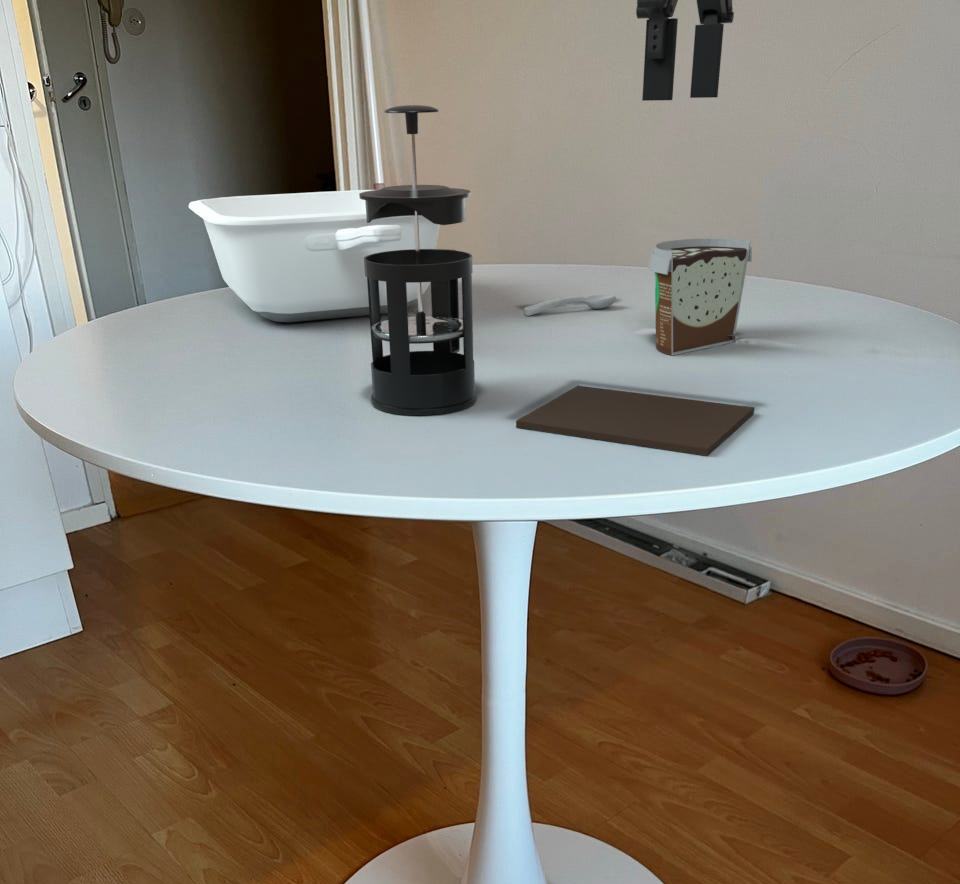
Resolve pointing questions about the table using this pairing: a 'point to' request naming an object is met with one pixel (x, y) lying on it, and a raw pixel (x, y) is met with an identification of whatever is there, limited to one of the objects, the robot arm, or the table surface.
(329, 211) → the white dish tub
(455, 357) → the french press
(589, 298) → the spoon
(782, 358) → the table surface
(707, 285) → the food container
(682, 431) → the mat
